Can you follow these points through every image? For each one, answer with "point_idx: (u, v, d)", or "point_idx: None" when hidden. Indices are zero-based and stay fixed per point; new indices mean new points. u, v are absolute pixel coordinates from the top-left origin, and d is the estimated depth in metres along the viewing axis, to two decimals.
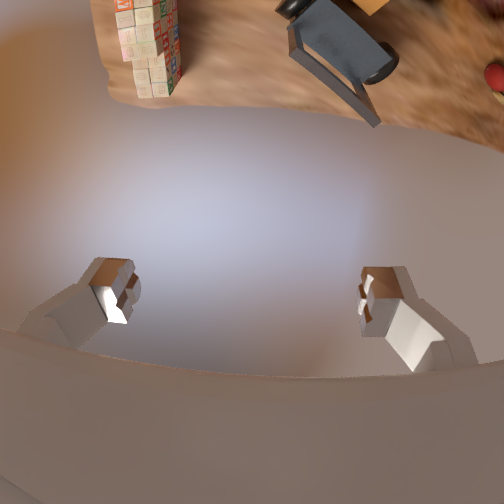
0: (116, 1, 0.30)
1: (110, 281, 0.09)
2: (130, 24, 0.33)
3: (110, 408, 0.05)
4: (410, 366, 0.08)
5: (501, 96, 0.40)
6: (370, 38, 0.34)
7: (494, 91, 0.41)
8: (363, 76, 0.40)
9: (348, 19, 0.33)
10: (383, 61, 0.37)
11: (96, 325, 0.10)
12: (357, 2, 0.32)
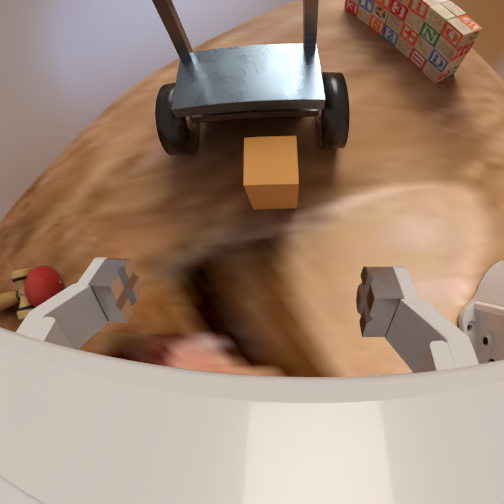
0: (475, 23, 0.24)
1: (110, 281, 0.09)
2: (445, 4, 0.24)
3: (110, 408, 0.05)
4: (410, 366, 0.08)
5: (22, 273, 0.34)
6: (220, 101, 0.26)
7: None
8: (184, 67, 0.28)
9: (267, 96, 0.26)
10: (178, 97, 0.27)
11: (96, 325, 0.10)
12: (274, 138, 0.28)
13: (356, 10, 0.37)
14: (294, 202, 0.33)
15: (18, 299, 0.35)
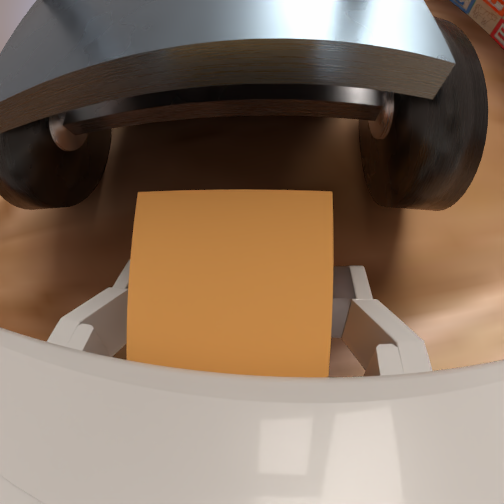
0: None
1: None
2: None
3: (110, 408, 0.05)
4: (366, 369, 0.08)
5: None
6: (58, 71, 0.06)
7: None
8: (37, 6, 0.07)
9: (222, 29, 0.05)
10: None
11: None
12: (246, 200, 0.07)
13: None
14: None
15: None
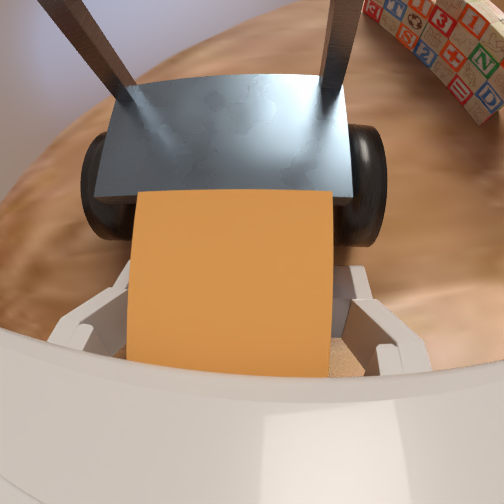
0: None
1: None
2: None
3: (110, 408, 0.05)
4: (366, 369, 0.08)
5: None
6: (168, 189, 0.16)
7: None
8: (120, 113, 0.17)
9: (250, 185, 0.16)
10: (105, 174, 0.17)
11: None
12: (246, 200, 0.07)
13: (379, 15, 0.27)
14: None
15: None
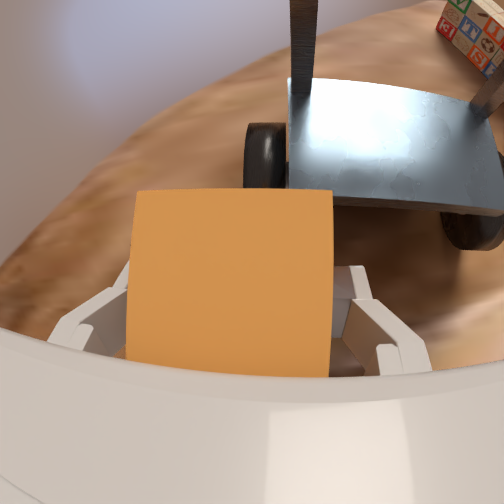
0: None
1: None
2: None
3: (110, 408, 0.05)
4: (366, 369, 0.08)
5: None
6: (378, 194, 0.15)
7: None
8: (300, 105, 0.17)
9: (447, 196, 0.15)
10: (300, 169, 0.16)
11: None
12: (246, 199, 0.07)
13: (452, 34, 0.27)
14: None
15: None
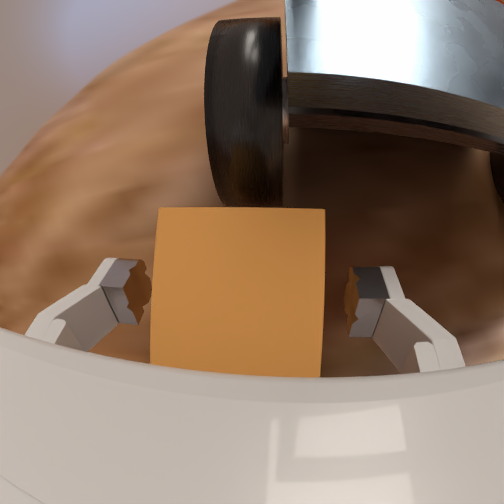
0: None
1: (122, 282, 0.09)
2: None
3: (110, 408, 0.05)
4: (397, 367, 0.08)
5: None
6: (458, 89, 0.06)
7: None
8: None
9: None
10: (309, 37, 0.07)
11: (107, 327, 0.10)
12: (252, 217, 0.09)
13: None
14: None
15: None
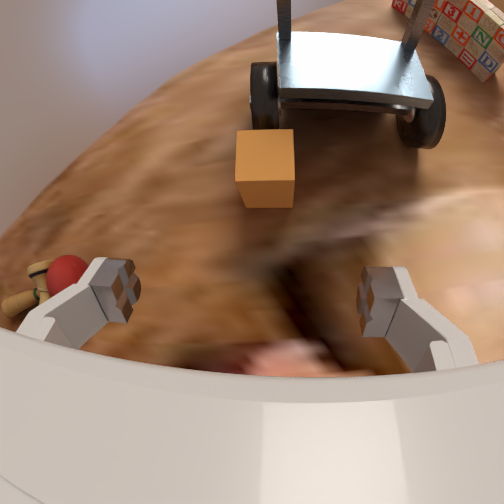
0: None
1: (110, 281, 0.09)
2: (494, 10, 0.22)
3: (110, 408, 0.05)
4: (410, 366, 0.08)
5: (42, 265, 0.30)
6: (335, 86, 0.23)
7: None
8: (284, 45, 0.25)
9: (382, 89, 0.23)
10: (285, 76, 0.24)
11: (96, 325, 0.10)
12: (269, 132, 0.26)
13: (405, 8, 0.35)
14: (290, 200, 0.31)
15: (36, 298, 0.32)
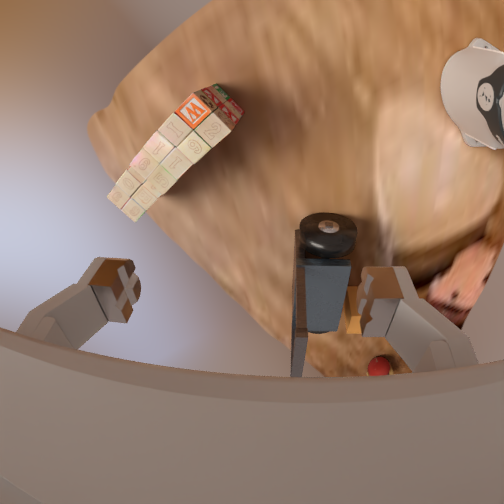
0: (187, 101, 0.30)
1: (110, 281, 0.09)
2: (173, 140, 0.33)
3: (110, 408, 0.05)
4: (410, 366, 0.08)
5: None
6: (340, 312, 0.49)
7: (368, 373, 0.73)
8: None
9: (343, 293, 0.46)
10: (329, 329, 0.51)
11: (96, 325, 0.10)
12: (351, 323, 0.54)
13: None
14: None
15: None
